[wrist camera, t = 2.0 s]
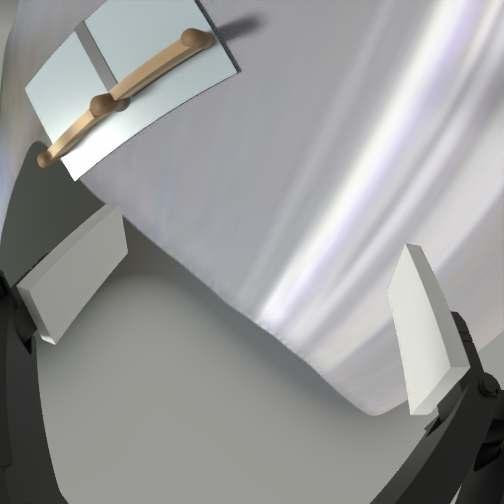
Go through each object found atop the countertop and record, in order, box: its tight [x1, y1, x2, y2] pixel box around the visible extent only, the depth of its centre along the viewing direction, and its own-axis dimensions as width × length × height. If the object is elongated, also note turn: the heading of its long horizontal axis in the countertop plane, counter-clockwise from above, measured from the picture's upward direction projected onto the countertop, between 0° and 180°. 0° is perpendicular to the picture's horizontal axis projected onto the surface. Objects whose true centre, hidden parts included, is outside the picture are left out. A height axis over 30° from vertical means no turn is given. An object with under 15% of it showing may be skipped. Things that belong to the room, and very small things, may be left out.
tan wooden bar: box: [37, 108, 111, 168], centre depth 33 cm, size 12×2×4 cm, turn 117°
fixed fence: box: [90, 28, 215, 116], centre depth 27 cm, size 2×15×5 cm, turn 117°
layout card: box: [25, 0, 238, 181], centre depth 30 cm, size 18×28×1 cm, turn 117°
